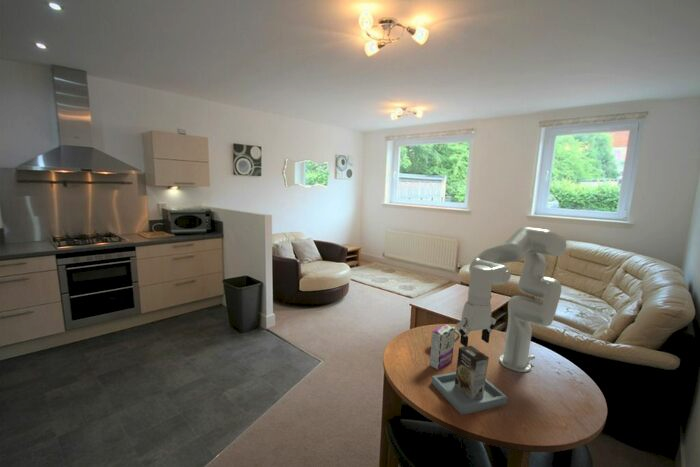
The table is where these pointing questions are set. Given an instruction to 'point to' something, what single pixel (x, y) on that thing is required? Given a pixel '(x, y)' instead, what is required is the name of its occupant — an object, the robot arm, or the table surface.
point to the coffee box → (471, 372)
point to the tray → (461, 401)
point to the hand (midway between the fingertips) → (474, 342)
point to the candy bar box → (442, 346)
